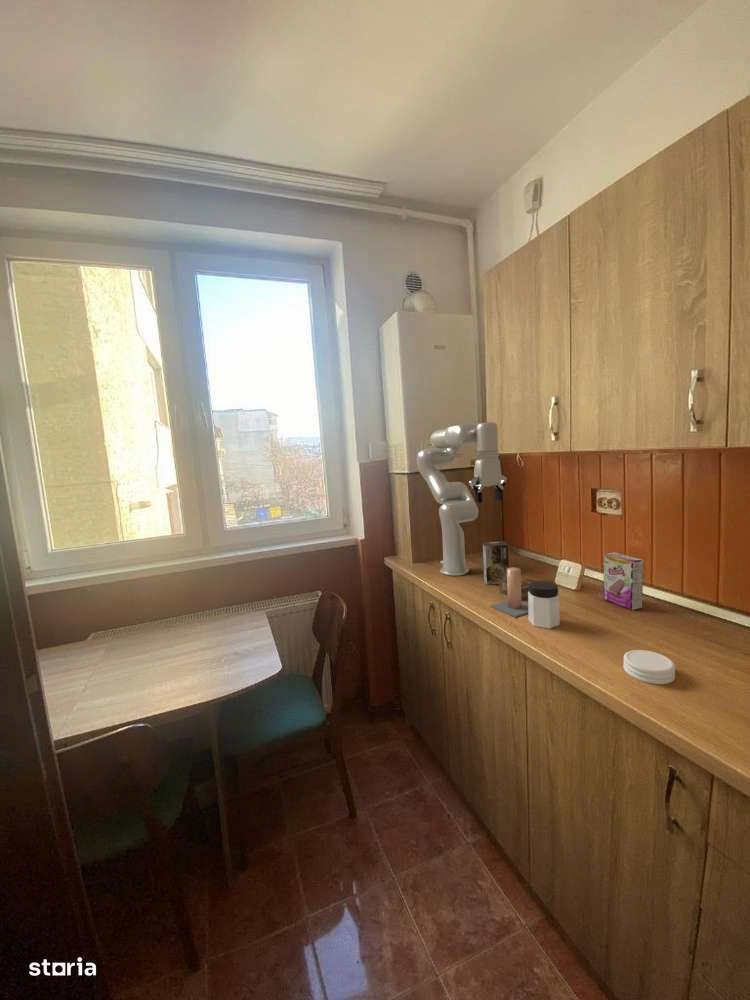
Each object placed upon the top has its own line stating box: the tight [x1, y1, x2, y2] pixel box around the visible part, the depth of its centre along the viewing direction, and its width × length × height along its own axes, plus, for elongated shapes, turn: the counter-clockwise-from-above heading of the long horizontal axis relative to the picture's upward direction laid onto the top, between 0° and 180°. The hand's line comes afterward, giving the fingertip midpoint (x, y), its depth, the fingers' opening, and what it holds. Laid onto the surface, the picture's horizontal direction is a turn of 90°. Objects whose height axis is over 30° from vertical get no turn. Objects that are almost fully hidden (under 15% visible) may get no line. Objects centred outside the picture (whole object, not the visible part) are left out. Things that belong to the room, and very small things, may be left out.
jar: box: [527, 580, 561, 630], centre depth 123 cm, size 9×8×12 cm
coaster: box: [623, 649, 676, 685], centre depth 94 cm, size 10×10×4 cm
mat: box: [490, 599, 528, 618], centre depth 136 cm, size 11×11×1 cm
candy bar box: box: [602, 551, 644, 611], centre depth 133 cm, size 11×5×16 cm, turn 18°
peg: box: [507, 566, 522, 609], centre depth 135 cm, size 4×4×13 cm
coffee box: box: [482, 541, 510, 585], centre depth 163 cm, size 9×6×16 cm
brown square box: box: [499, 578, 532, 601], centre depth 149 cm, size 9×9×4 cm
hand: (489, 501), depth 152 cm, fingers open, 9 cm apart
